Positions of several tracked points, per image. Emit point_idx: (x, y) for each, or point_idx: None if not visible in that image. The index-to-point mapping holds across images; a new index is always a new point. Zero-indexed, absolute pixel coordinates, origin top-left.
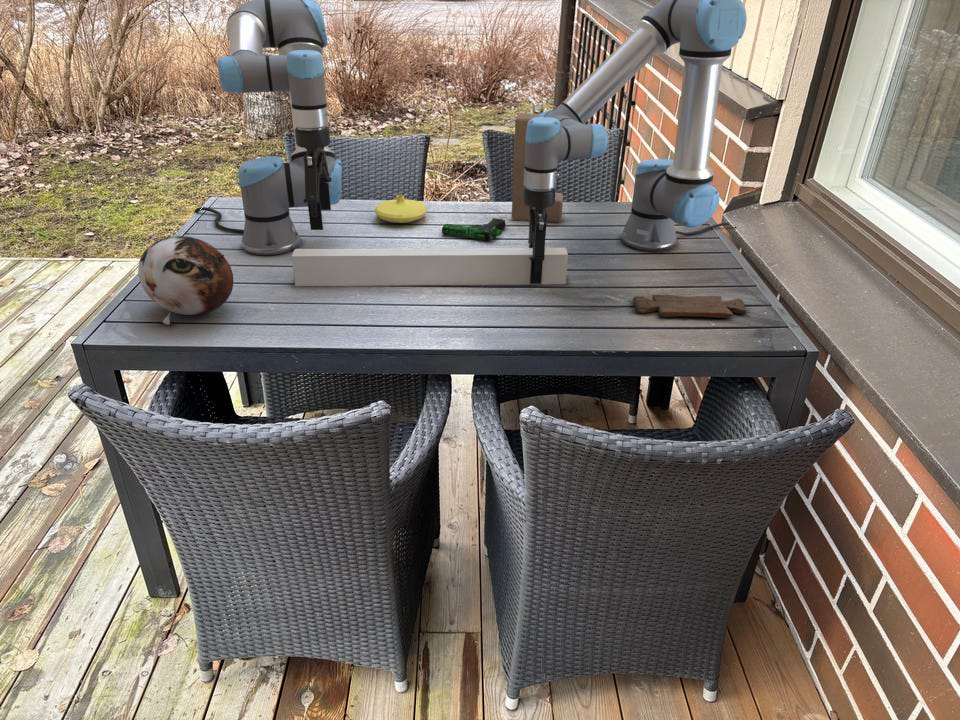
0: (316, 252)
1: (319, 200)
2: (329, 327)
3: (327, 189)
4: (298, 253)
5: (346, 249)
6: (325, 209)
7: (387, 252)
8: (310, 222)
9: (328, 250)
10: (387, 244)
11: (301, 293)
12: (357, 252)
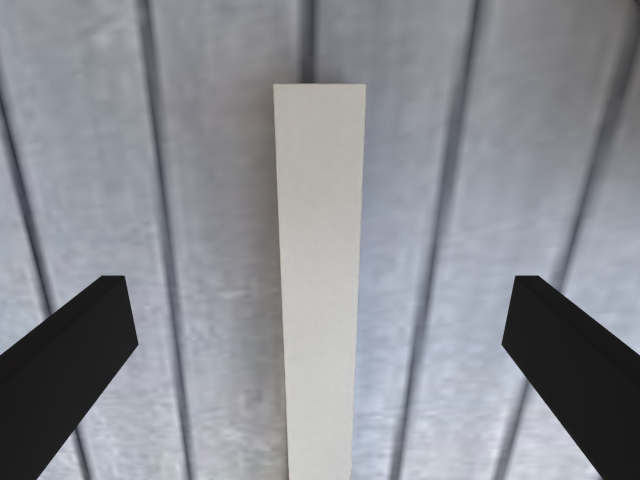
0: (319, 197)
1: (559, 323)
2: (19, 241)
3: (610, 477)
4: (307, 114)
5: (349, 311)
6: (510, 317)
7: (315, 438)
8: (66, 308)
9: (341, 244)
10: None
11: (231, 122)
12: (316, 351)
